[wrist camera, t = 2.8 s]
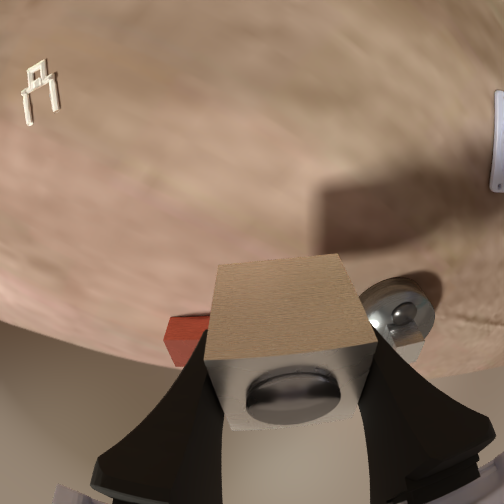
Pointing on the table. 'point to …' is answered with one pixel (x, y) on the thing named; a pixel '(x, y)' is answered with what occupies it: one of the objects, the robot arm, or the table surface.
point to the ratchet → (374, 303)
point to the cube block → (287, 342)
